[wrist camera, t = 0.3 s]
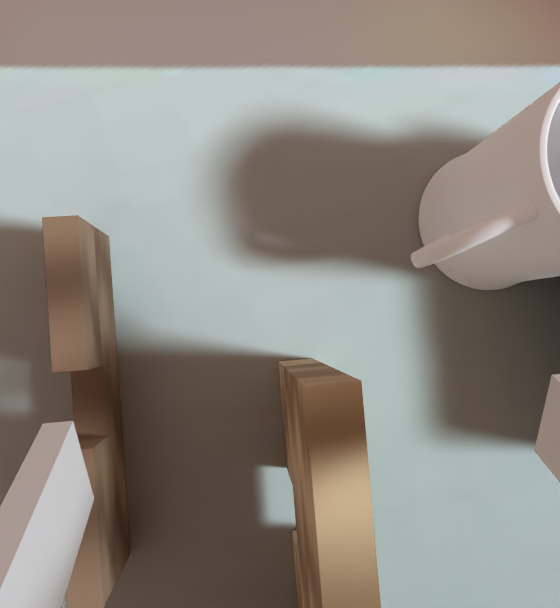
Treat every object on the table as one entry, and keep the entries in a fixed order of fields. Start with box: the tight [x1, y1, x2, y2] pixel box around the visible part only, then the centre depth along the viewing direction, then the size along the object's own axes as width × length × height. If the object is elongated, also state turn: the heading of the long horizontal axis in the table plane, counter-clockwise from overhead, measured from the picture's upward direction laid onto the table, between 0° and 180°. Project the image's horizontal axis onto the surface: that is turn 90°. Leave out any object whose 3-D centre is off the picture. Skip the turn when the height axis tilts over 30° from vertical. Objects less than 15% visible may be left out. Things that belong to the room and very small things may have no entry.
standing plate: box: [42, 215, 130, 608], centre depth 26 cm, size 18×2×6 cm, turn 5°
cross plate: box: [278, 358, 381, 608], centre depth 23 cm, size 16×2×12 cm, turn 5°
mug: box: [411, 82, 560, 290], centre depth 24 cm, size 12×8×12 cm
